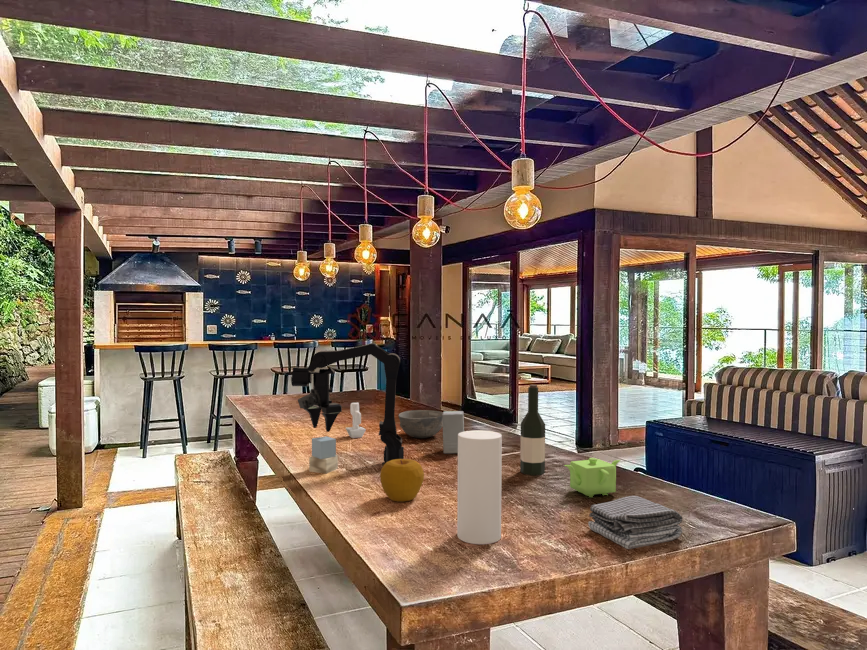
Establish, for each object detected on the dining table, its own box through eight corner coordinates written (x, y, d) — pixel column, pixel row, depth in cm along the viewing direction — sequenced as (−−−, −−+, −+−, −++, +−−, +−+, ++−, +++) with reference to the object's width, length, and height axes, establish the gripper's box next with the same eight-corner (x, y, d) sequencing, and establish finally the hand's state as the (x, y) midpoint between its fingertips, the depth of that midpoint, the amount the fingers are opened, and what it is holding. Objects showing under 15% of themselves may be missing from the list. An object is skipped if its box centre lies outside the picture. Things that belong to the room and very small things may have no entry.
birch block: (337, 469, 207) (337, 455, 207) (326, 474, 201) (326, 459, 201) (320, 467, 210) (320, 453, 210) (309, 471, 203) (309, 457, 203)
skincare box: (464, 450, 236) (464, 410, 235) (463, 454, 229) (464, 413, 228) (443, 449, 237) (443, 410, 236) (441, 453, 229) (442, 413, 229)
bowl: (391, 433, 267) (391, 411, 267) (432, 430, 276) (432, 408, 275) (408, 443, 248) (408, 419, 248) (452, 438, 257) (452, 415, 257)
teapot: (563, 496, 177) (563, 461, 177) (570, 484, 190) (570, 451, 189) (617, 502, 172) (617, 466, 171) (620, 489, 184) (620, 455, 184)
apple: (375, 494, 178) (375, 456, 178) (415, 490, 183) (416, 453, 182) (387, 507, 166) (387, 467, 166) (430, 502, 171) (430, 463, 170)
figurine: (350, 439, 254) (350, 404, 254) (344, 435, 263) (344, 401, 262) (366, 438, 257) (366, 403, 257) (360, 434, 266) (360, 400, 265)
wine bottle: (544, 476, 199) (545, 386, 198) (519, 474, 201) (520, 386, 200) (545, 469, 207) (545, 384, 206) (520, 468, 209) (521, 383, 208)
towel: (685, 540, 144) (685, 508, 144) (624, 551, 137) (624, 517, 137) (641, 519, 158) (641, 490, 158) (584, 528, 151) (584, 498, 151)
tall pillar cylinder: (497, 527, 151) (498, 430, 150) (504, 544, 140) (504, 439, 140) (455, 528, 151) (456, 430, 150) (459, 544, 140) (459, 439, 139)
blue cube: (335, 456, 205) (335, 439, 205) (320, 459, 201) (320, 441, 201) (326, 453, 210) (326, 436, 209) (311, 455, 206) (311, 438, 205)
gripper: (288, 385, 214) (288, 428, 214) (314, 390, 200) (314, 437, 200) (316, 383, 221) (316, 424, 222) (342, 388, 207) (342, 432, 207)
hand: (321, 429), depth 212 cm, fingers open, 9 cm apart
